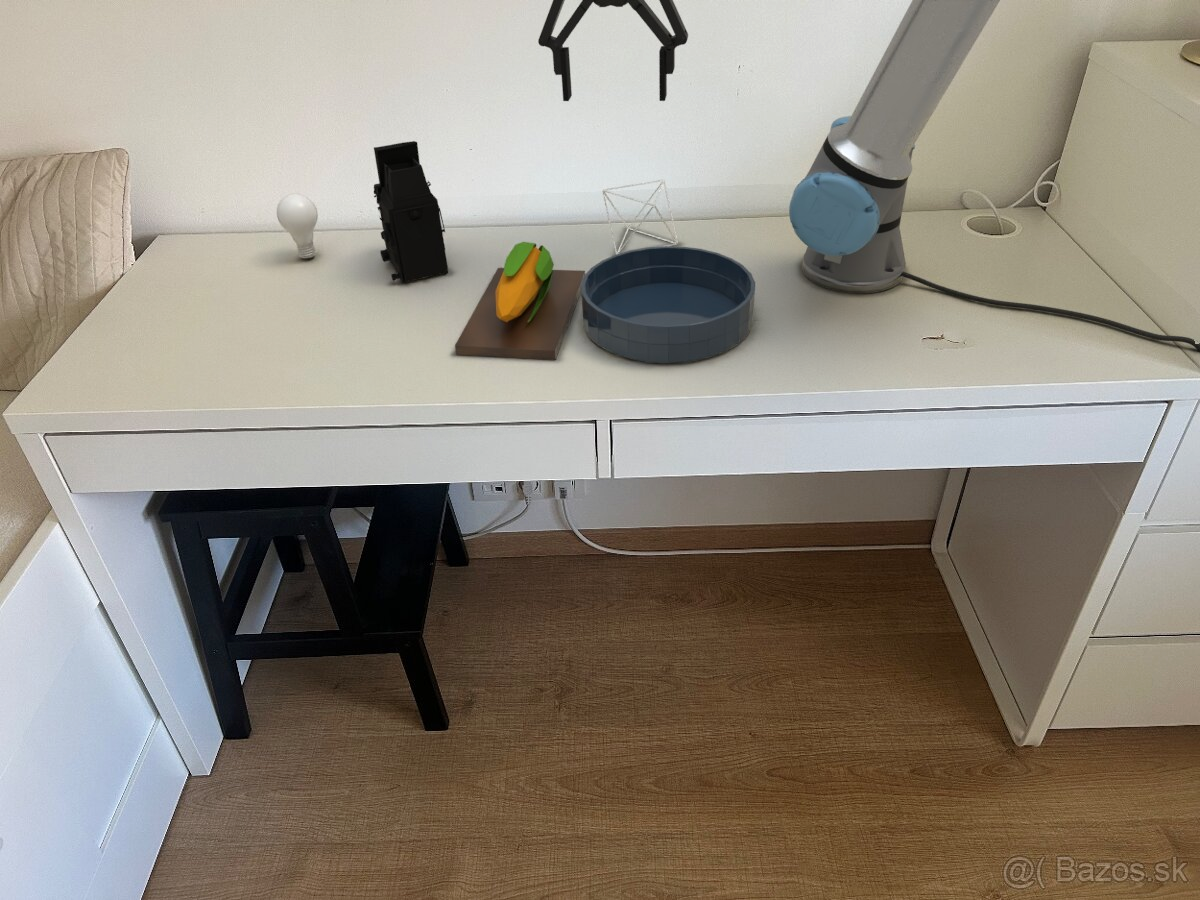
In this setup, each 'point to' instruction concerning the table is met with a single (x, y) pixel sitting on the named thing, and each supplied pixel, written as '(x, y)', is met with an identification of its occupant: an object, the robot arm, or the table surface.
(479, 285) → the table surface
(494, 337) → the walnut board
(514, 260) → the corn
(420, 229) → the camera
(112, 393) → the table surface
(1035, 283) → the table surface
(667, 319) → the bowl
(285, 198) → the lightbulb
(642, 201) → the geometric polyhedron
